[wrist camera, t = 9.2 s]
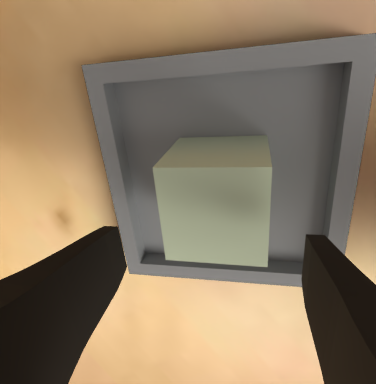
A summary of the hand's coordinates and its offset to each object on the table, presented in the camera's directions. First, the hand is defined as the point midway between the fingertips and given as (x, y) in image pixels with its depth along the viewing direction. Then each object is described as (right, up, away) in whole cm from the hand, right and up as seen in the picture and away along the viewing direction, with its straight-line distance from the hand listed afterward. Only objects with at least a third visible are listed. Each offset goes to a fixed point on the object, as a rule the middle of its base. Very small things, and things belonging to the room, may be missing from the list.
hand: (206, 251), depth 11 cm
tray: (+2, +3, +7) cm, 8 cm away
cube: (+1, +3, +6) cm, 7 cm away
